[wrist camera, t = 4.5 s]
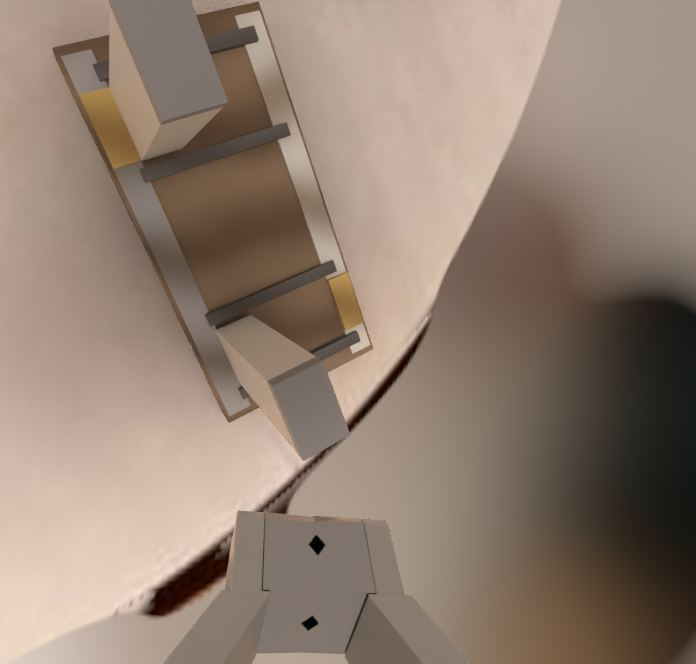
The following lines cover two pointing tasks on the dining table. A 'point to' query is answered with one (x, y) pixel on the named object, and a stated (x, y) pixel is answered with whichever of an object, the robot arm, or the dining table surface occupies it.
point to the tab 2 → (285, 385)
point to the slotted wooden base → (231, 207)
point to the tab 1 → (161, 73)
